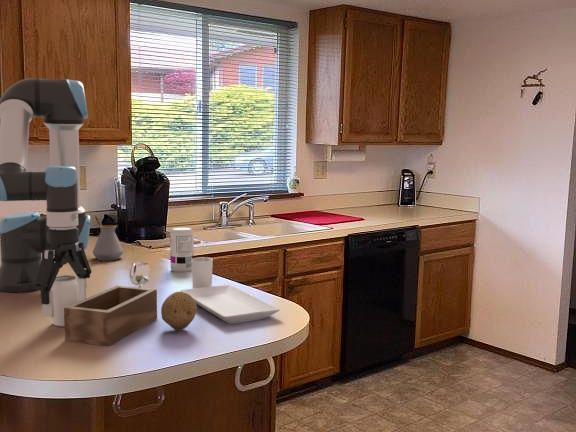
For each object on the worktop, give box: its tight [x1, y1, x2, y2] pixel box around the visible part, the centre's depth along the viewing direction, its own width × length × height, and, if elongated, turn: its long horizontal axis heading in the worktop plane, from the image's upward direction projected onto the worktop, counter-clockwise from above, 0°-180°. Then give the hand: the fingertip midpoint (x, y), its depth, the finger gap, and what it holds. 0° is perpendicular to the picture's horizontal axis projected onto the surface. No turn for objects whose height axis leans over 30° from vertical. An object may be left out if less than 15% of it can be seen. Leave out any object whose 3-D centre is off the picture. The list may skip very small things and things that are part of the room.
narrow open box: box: [64, 285, 158, 347], centre depth 158 cm, size 12×23×8 cm, turn 164°
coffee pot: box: [92, 215, 124, 262], centre depth 247 cm, size 21×12×15 cm, turn 33°
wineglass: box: [128, 261, 151, 288], centre depth 180 cm, size 6×6×12 cm
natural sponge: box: [160, 291, 198, 332], centre depth 157 cm, size 9×9×10 cm
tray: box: [180, 284, 281, 325], centre depth 177 cm, size 17×31×4 cm, turn 31°
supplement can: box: [169, 226, 195, 273], centre depth 226 cm, size 8×8×15 cm
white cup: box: [191, 256, 214, 289], centre depth 197 cm, size 7×7×10 cm
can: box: [51, 275, 78, 328], centre depth 161 cm, size 6×6×12 cm
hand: (65, 309), depth 161 cm, fingers open, 13 cm apart
